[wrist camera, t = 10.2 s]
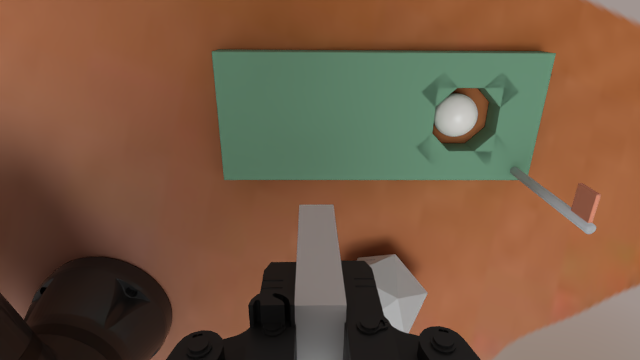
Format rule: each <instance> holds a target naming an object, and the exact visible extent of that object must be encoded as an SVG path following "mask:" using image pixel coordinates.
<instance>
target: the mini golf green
mask: <svg viewBox="0 0 640 360" xmlns="http://www.w3.org/2000/svg"><path fill="white" fill-rule="evenodd" d="M555 54H556V53H549V52H542V51H401V50H215V51H212V59H213V69H214V80H215V90H216V101H217V111H218V121H219V132H220V142H221V153H222V163H223V174H224V180H520V181H521V182H522V183H523V184H525V185H526V186H527V187H528V188H530V189H531V190H532V191H533V192H535V193H536V194H537V195H538V196H540V197H541V198H542V199H543V200H545V201H546V202H547V203H549V204H550V205H551V206H552V207H554V208H555V209H556V210H557V211H559V212H560V213H561V214H562V215H564V216H565V217H566V218H567V219H569V220H570V221H571V222H573V223H574V224H575V225H576V226H578V227H579V228H580V229H581V230H583V231H584V232H585V233H587V234H592V233H593V232H595V230H596V226H595V225H594V224H593V223H592V222H593V219H594V216H595V212H596V209H597V206H598V203H599V200H600V196H601V194H599V193H597V192H596V191H594V190H592V189H591V188H589V187H588V186H586V185H584V184H583V183H578V187H577V191H576V194H575V198H574V201H573V205H572V208H571V207H570V206H568V205H567V204H566V203H564V202H563V201H562V200H560V199H559V198H557V197H556V196H555V195H553V194H552V193H551V192H549V191H548V190H547V189H545V188H544V187H543V186H541V185H540V184H539V183H537V182H536V181H534V180H533V179H532V178H530V177H529V176H528V173H529V169H530V164H531V160H532V155H533V151H534V147H535V142H536V138H537V133H538V129H539V125H540V120H541V116H542V112H543V107H544V103H545V98H546V94H547V90H548V85H549V81H550V76H551V72H552V68H553V63H554V59H555ZM456 88H478V89H479V90H480V91H481V93H482V94H483V95H484V96H485V98H486V99H487V100H488V101H489V106H488V111H487V117H486V123H485V127H484V128H483V129H482V130H480V131H479V132H478V133H477V134H476V135H474V136H473V137H472V138H471V139H470V140H468V141H467V142H466V143H441V142H440V141H439V140H438V139H437V138H436V137H435V136H434V135H433V134H432V132H433V124H434V116H435V107H436V106H437V105H439V104H440V103H441V102H442V101H443V100H444V99H445V98H446V97H448V96H449V95H450V94H451V93H452V92H453V91H454V90H455V89H456Z"/></svg>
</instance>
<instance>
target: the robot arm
mask: <svg viewBox="0 0 640 360" xmlns="http://www.w3.org/2000/svg"><path fill="white" fill-rule="evenodd" d="M248 307H249V320H250V328H249V329H248V330H246V331H245V332H243V333H241V334H239V335H237V336H234V337H230V338H227V339H223V340H222V338H221V337H220V336H219V335H218V334H217V333H215V332H212V331H198V332H194V333H191V334H189V335H188V336H186V337H184V338H183V339H182V340H181V341H180V342H179V343H178V344H177V345H176V346H175V348H174V349H173V351H172V352H171V353H170V355H169V356H168V358H167V359H166V360H480V358H479V357H478V356H477V355H476V353H475V352H474V351H473V350H472V349H471V347H470V346H469V345H468V344H467V342H466V341H465V340H464V339H463V338H462V337H461V336H460V335H459V334H458V333H457V332H455V331H453V330H451V329H449V328H444V327H440V326H436V327H429V328H427V329H424V330H423V331H422V333H421V334H420V336H417V335H413V334H409V333H405V332H402V331H400V330H398V329H396V328H394V327H393V326H392V325H391V324H390V322H389V320H388V319H387V318H386V317H385V316H384V313H383V309H382V306H381V302H380V298H379V294H378V290H377V287H376V282H375V279H374V274H373V270H372V268H371V267H370V266H369V265H368V264H367V263H366V262H365V261H341V258H340V251H339V243H338V236H337V228H336V221H335V213H334V206H333V205H299V223H298V243H297V262H271V263H270V264H269V265H268V267H267V268H266V269H265V270H264V274H263V281H262V286H261V291H260V294H258V295H256V296H255V297H254V298H253V299H251V301H250V303H249V305H248ZM171 322H172V311H171V306H170V303H169V300H168V298H167V296H166V294H165V292H164V291H163V290H162V288H161V287H160V286H159V284H158V283H157V282H156V281H155V280H154V279H152V278H151V277H150V276H149V275H148V274H146V273H145V272H143V271H142V270H140V269H138V268H137V267H135V266H133V265H130V264H128V263H125V262H122V261H119V260H116V259H111V258H104V257H87V258H80V259H76V260H73V261H70V262H68V263H66V264H64V265H62V266H61V267H59V268H58V269H57V270H56V271H54V272H53V273H52V274H51V275H50V276H49V277H48V278H47V279H46V280H45V281H44V282H43V283H42V285H41V286H40V287H39V289H38V290H37V292H36V294H35V296H34V298H33V301H32V303H31V305H30V307H29V309H28V312H27V314H26V316H25V318H24V320H23V318H22V317H21V316H20V315H19V314H18V313H17V311H16V310H15V309H14V308H13V307H12V306H11V304H10V303H9V302H8V301H7V300H6V299H5V297H4V296H3V295H2V294H1V293H0V360H150V359H151V358H152V357H153V356H154V355H155V354H156V353H157V352H158V350H159V349H160V348H161V346H162V344H163V342H164V340H165V338H166V336H167V334H168V332H169V329H170V327H171Z"/></svg>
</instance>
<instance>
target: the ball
mask: <svg viewBox="0 0 640 360" xmlns="http://www.w3.org/2000/svg"><path fill="white" fill-rule="evenodd" d="M477 117H478V111H477V107H476V105H475V103H474V101H473V100H472V99H471V98H469V97H468V96H466V95H463V94H458V93H455V94H450V95H449V96H448V97H446V98H445V99H444V100H443V101H442V102H441V103H440V104H439V105H437V106H436V107H435V116H434V124H435V126H436V128H437V129H438V130H439V131H440V132H441V133H443V134H445V135H447V136H453V137H456V136H461V135H464V134H466V133H467V132H469V131H470V130H471V129H472V128H473V127H474V125H475V123H476V121H477Z"/></svg>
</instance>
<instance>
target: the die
mask: <svg viewBox="0 0 640 360" xmlns="http://www.w3.org/2000/svg"><path fill="white" fill-rule="evenodd" d="M356 261H365V262H366V263H367V264H368V265H369V266H370V267H371V268H372V270H373V274H374V279H375V282H376V287H377V290H378V294H379V298H380V302H381V306H382V309H383V313H384V316H385V317H386V318H387V319H388V320H389V322H390V324H391V325H392V326H393V327H394V328H396V329H398V330H400V331H402V332H405V333H409V331H410V329H411V327H412V325H413V323H414V321H415V318H416V316H417V314H418V312H419V310H420V308H421V306H422V304H423V302H424V300H425V298H426V296H427V292H426V290H425V289H424V288H423V287H422V286H421V284H420V283H419V282H418V281H417V280H416V278H415V277H414V276H413V275H412V274H411V272H410V271H409V270H408V269H407V268H406V266H405V265H404V264H403V263H402V262H401V260H400V259H399V258H398V257H397V256H396V254H391V255H380V256H370V257H360V258H358V259H357V260H356Z"/></svg>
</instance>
